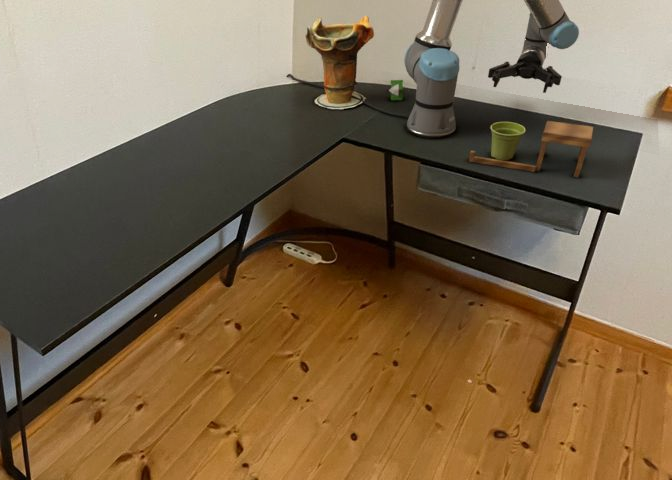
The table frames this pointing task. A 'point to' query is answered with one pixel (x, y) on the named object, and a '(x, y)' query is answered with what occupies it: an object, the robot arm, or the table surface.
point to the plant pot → (505, 139)
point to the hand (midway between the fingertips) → (520, 85)
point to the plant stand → (552, 133)
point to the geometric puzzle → (396, 90)
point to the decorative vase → (339, 59)
